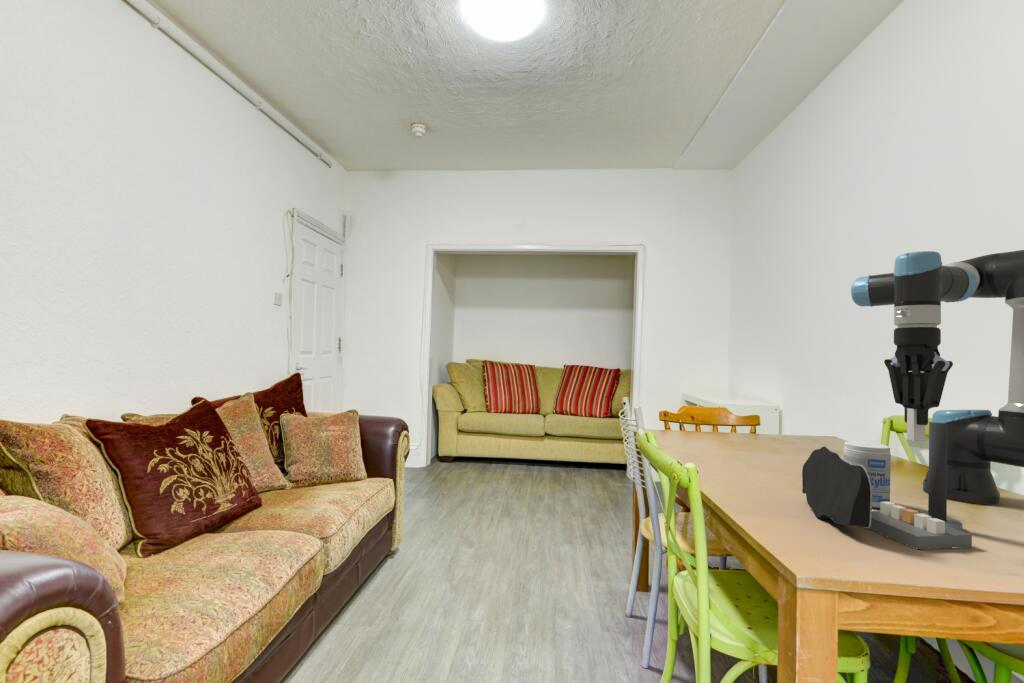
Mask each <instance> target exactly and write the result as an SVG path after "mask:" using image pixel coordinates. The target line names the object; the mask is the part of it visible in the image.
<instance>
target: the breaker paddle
mask: <svg viewBox="0 0 1024 683" xmlns="http://www.w3.org/2000/svg"><path fill="white" fill-rule="evenodd" d="M919 513H920V512H919V511H918V510H915V509H912V508H907V509H902V521H904V522H907V523H910V524H914V514H919Z"/></svg>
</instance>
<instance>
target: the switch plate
mask: <svg viewBox="0 0 1024 683" xmlns="http://www.w3.org/2000/svg"><path fill="white" fill-rule="evenodd" d="M902 509H908V508H907V507H905V506H902V505H899V504H898V505H897V504H896V503H894V502H891V501H890V502H880V508H879V510H875V511H874V510H873V511H872V510H871V525H870V528H869V530H871V531H873V530H874V532H875V531H876V532H875V533H878V532H879V533H878V534H880V533H881V534H880V535H882V534H883V536H885V537H887V536H888V537H887V538H889V537H890V539H893V540H894V541H896V540H897V542H899V541H900V542H899V543H901V542H902V543H901V544H903V543H904V545H906V544H907V545H906V546H908V545H909V546H908V547H910V546H912V547H914V548H913V549H915V548H917V549H923V550H929V549H928V548H950V549H953V548H952V547H973V534H971V533H968V532H966V531H963V530H962V531H960V530H957V529H954V528H952V527H949V526H946V525H945V521H942V520H940V519H937V518H932V517H931V516H928V515H925V514H914V524H910V523H907V522H904V521H902ZM912 547H911V548H912ZM917 549H916V550H917Z"/></svg>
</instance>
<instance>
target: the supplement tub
mask: <svg viewBox="0 0 1024 683" xmlns="http://www.w3.org/2000/svg"><path fill="white" fill-rule="evenodd" d="M843 459H844V460H845V461H847V462H849V463H851V464H854V465H862V466H864V468H865V469H866V471H867V473H868V475H869V478H870V481H871V487H872V509H873V508H874V509H880V502H891V501H890V500H891V464H892V463H891V462H892V460H891V447H890V446H889V445H885V444H882V443H881V444H880V443H875V442H870V441H869V442H867V441H855V440H854V441H853V440H849V441H845V442H844V447H843Z"/></svg>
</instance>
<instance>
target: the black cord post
mask: <svg viewBox="0 0 1024 683" xmlns="http://www.w3.org/2000/svg"><path fill="white" fill-rule="evenodd" d="M928 424H929V425H928V470H929V493H928V506H927V507H928V508H927V509H928V510H927V511H928V512H927V513H926V512H924V513H923V512H919V514H925V515H928V516H931V517H932V518H937V519H940V520H942V521H945V525H946V526H949V527H952V528H954V529H957V530H960V531H963V523H962V522H961V521H960V520H957V519H956V518H955V519H954V518H952V517H948V515H947V514H948V513H947V512H948V511H947V510H948V508H947V507H948V505H947V504H948V503H947V501H948V499H947V424H946V423H938V422H932V421H930V422H929V421H928Z"/></svg>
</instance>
